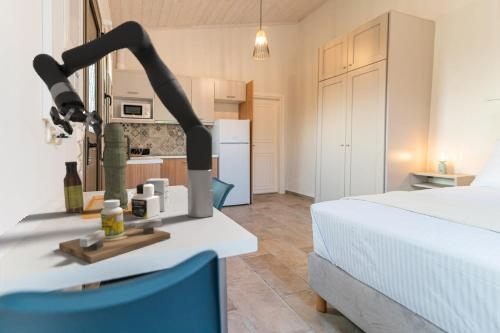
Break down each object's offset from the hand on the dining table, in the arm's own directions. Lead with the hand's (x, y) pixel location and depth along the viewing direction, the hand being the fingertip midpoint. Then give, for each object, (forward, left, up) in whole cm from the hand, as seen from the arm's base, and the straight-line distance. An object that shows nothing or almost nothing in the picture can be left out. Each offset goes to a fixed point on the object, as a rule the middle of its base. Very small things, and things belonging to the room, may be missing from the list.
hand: (85, 133), depth 92 cm
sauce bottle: (+14, -25, -30) cm, 42 cm away
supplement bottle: (-11, +16, -28) cm, 35 cm away
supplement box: (-18, -23, -30) cm, 42 cm away
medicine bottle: (-15, -13, -30) cm, 36 cm away
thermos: (-1, -27, -30) cm, 41 cm away
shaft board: (-13, +18, -30) cm, 37 cm away
